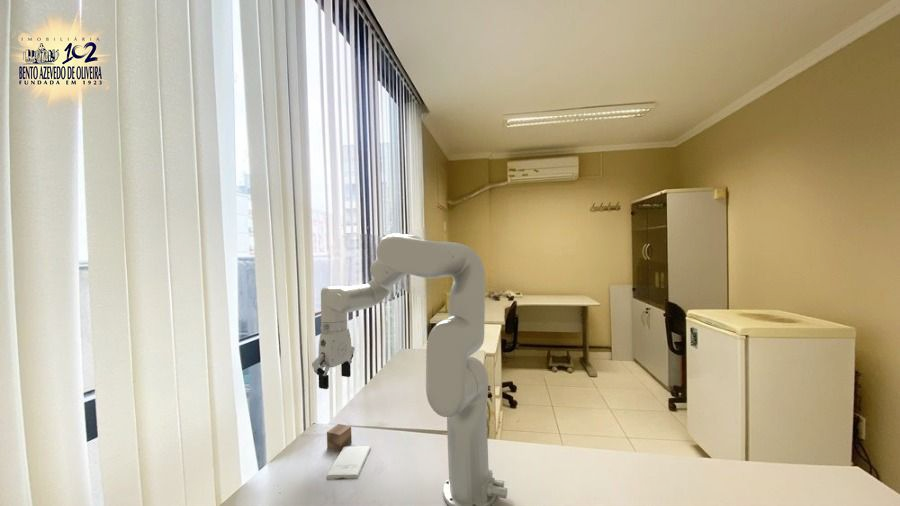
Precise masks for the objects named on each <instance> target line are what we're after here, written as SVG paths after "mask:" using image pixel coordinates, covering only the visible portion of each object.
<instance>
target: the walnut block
mask: <svg viewBox="0 0 900 506" xmlns="http://www.w3.org/2000/svg"><path fill="white" fill-rule="evenodd" d="M352 443H353V442H352V426H349V425H346V424H341V423H337V424H336V425H335V426H333V427H332V428H330V429H329V430H327V431H326V448H327V449H328V450H332V451H336V452H339V453H340V452H341V451H342V449H343V447H345V446H349V445H351V444H352Z"/></svg>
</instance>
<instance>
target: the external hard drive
mask: <svg viewBox="0 0 900 506" xmlns="http://www.w3.org/2000/svg"><path fill="white" fill-rule="evenodd" d="M371 450H372V449H371V446H369V445H359V446H357V445H355V446H352V445H351V446H349V445H348V446H345V447H343V449H342V451H341V452H340V451H339V454H338V455H337V458H336V459H335V461H334V463H333V464H332V466H331V467H330V469H329V471H328V473H327V474H326V479H327V480H328V479H329V480H330V479H331V480H332V479H334V480H335V479H342V478H343V479H358V478H359V476H360V474H361V472H362V469H363V467H364V465H365V463H366V461H367V458H368V456H369V454H370V452H371Z"/></svg>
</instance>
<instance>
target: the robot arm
mask: <svg viewBox="0 0 900 506" xmlns="http://www.w3.org/2000/svg"><path fill="white" fill-rule="evenodd" d="M369 271H370V275H371V277H372V279H371V280H370V281H368V282H367V283H365V284H358V285H357V284H356V285H351V286H343V285H331V286H330V285H329V286H324V287H323V288H321V290H320V321H321V322H320V324H321V325H320V328H319V329H320V335H319V336H320V337H319V342H318V355H317V358H315V360H314V361H313V362H312V363H311V366H312V369H313V371H314V373H316V375H317V376H318V388H319V389H323V390H328V389H329V387H330V383H329V382H330V381H329V378H330V377H329V374H328V373H329V370H330V368H335V367H337V366H340V365H341V368H340V370H341V371H340V372H341V377H343V378H344V377H346V378H350V377H351V374H352V373H351V370H352V369H351V364H352V363H353V361H352V359H353V357H354V353H355V347H354V346H352V338H351V332H350V328H348V314H349V313H352V312H357V311H361V310H366V309H369V308H373V307H375V306H376V305H377V304H379V303H380V302H382V301H383V300H384V299H386V298H387V297H388V296H390V294H391V292H392V290H393V288H394V285H395V284H397V283H398V282H399V281H401V280H402V279H403V278H404V277H406V276H407V275H411V276H416V277H420V278H422V279H423V278H424V279H441V278H448V277H451V278H452V284H451V288H450V291H449V295H448V296H449V297H448V316H447V318H445V319H443V320H441V321H439V322H438V323H436V324H435V325H434V326H433V328H431V330H430V332H429V334H428V338H427V341H426V353H425V354H426V356H425V359H426V360H425V392H426V398H427V402H428V403H429V406H430V408H431V409H432V410H433V412H434V413H435V414H437V415H439V416H440V417H443V418H446V427H447V428H446V430H447V431H446V433H447V435H446V437H447V459H448V461H447V462H448V478H447V479H446V480H445V482H444V484H443V485H442V486H443V487H442V495H443V499H444V502H445V503H446V505H448V506H492V505H493V504H494V502H495V500H496V497H498V498H502V499H504V500H505V499H507V498H508V488H507V487H505V481H504V480H500V479H499V480H498V479H496V478H495V477H493V476H494V475H493V470H492V469H490V467H489V445H488V442H489V441H488V418H487V417H488V414H487V413H488V409H487V408H488V406H487V405H488V396H489V394H488V392H489V374H488V371H487V369H486V366H485V365H484V364H483V362H481V360H479V359H478V358H476V357H474V356H472V355H474V354H475V353H476V352H477V351H479V350H480V349H481V348H482V346H483V344H484V341H485V317H486V316H485V313H486V311H485V308H486V305H485V303H486V302H485V300H486V299H485V293H486V271H485V266H484V263H483V261H482V258H481V257H480V255H479V254H478V253H477V251H475V250H474V249H472V248H471V247H469V246H468V245H465V244H462V243H459V242H452V241H440V240H439V241H438V240H436V241H435V240H426V239H423V238H421V237H419V236H417V235H414V234H402V233H391V234H387V235H386V236H384V237H383V238H382V239H381V240H380V241H379V242H378V244H377V248H376V259H375V260H374V261H373V262H372V263H371V265H370V270H369Z"/></svg>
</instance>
